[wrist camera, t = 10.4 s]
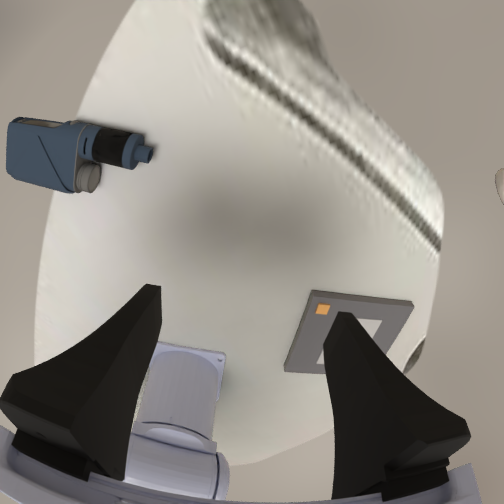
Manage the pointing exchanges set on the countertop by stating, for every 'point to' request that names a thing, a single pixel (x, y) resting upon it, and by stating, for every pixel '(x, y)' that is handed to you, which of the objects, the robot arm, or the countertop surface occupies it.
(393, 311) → the computer chip
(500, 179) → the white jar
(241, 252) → the countertop surface
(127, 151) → the vaping device
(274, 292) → the countertop surface
